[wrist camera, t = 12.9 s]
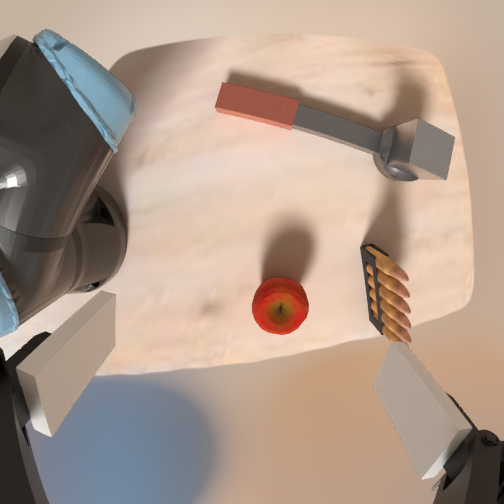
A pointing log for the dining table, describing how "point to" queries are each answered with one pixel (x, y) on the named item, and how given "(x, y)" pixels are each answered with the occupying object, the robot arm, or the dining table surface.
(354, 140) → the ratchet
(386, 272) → the ammunition clip
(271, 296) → the apple
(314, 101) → the dining table surface
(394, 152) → the brushed steel cube
